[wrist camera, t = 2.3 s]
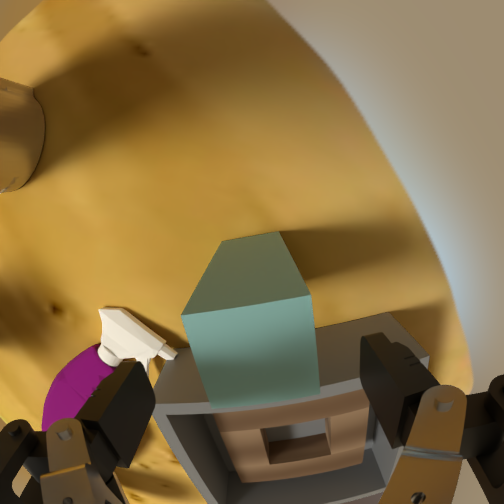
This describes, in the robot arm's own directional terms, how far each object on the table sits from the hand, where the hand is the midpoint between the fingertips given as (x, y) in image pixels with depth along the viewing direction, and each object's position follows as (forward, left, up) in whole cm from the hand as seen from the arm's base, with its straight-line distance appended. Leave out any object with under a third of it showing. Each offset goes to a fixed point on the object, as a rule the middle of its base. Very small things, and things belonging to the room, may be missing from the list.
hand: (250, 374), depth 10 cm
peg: (-1, 0, -12) cm, 12 cm away
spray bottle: (+11, -18, -12) cm, 24 cm away
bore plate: (+14, +1, -12) cm, 18 cm away
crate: (+14, +1, -12) cm, 18 cm away
